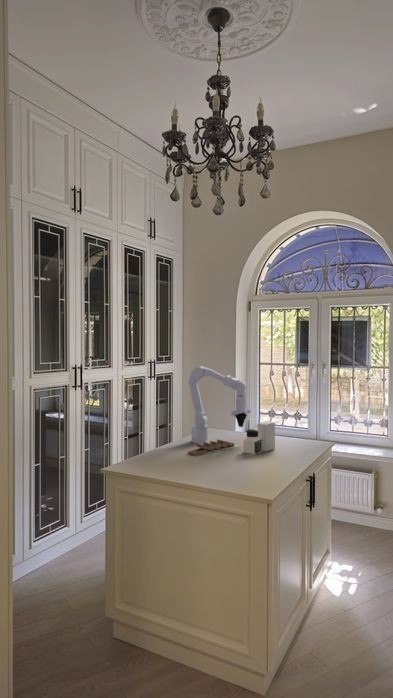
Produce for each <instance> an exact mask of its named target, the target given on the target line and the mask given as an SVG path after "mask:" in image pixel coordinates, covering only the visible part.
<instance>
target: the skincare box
mask: <svg viewBox="0 0 393 698" xmlns="http://www.w3.org/2000/svg"><path fill="white" fill-rule="evenodd" d="M257 431H258V438H260V439H261V451H263V452H269V451H272V450H275V449H276V422H273V421H270V420H265V421H260V422H257Z"/></svg>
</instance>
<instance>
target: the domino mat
mask: <svg viewBox="0 0 393 698" xmlns="http://www.w3.org/2000/svg"><path fill="white" fill-rule="evenodd" d="M237 447H241V445H239V444H235V443H234V446H230V445H228V448H225V447H221V450H220V449H216V448H214V451H211V450H207V453H204V454H205V455H207V454H212V453H216V452H221V451H224V450H225V451H226V450H229V449H234V448H237Z"/></svg>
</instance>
